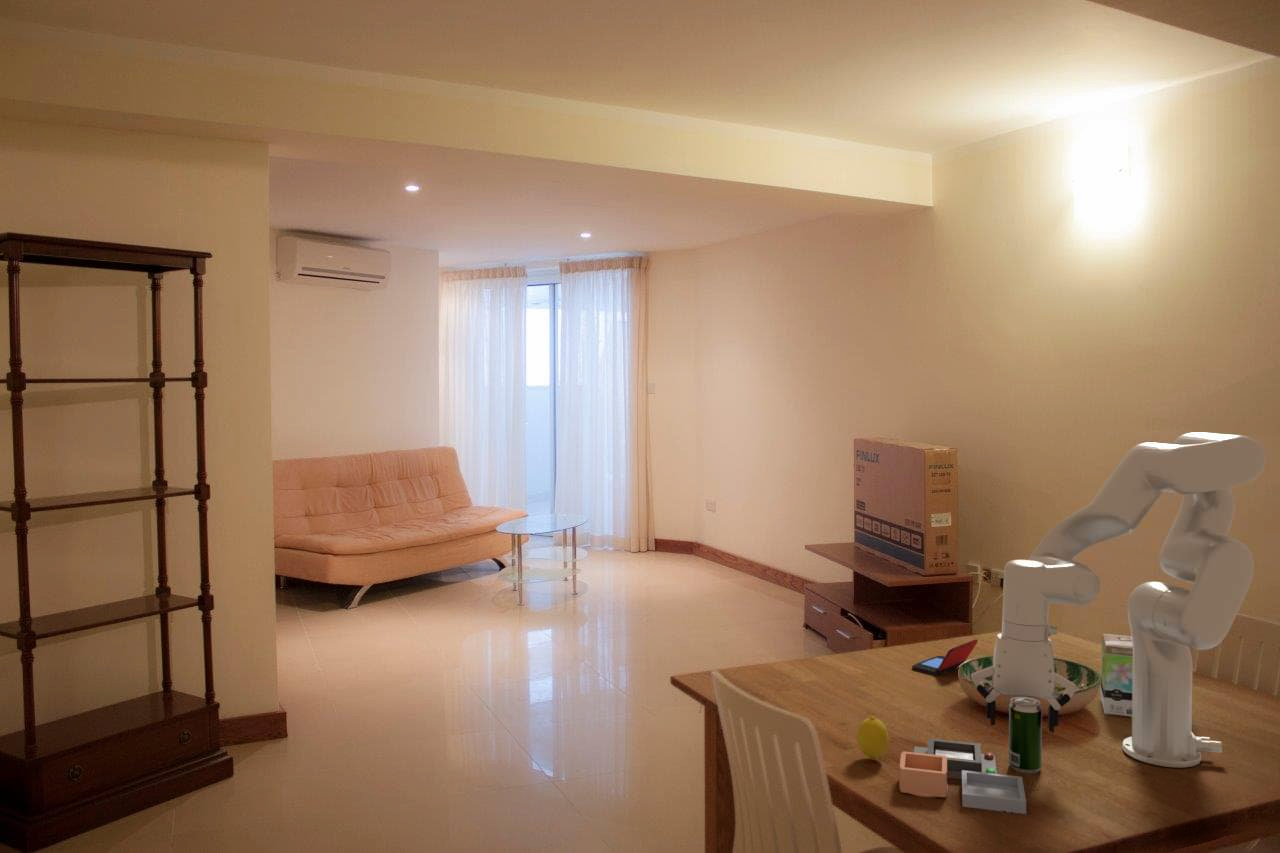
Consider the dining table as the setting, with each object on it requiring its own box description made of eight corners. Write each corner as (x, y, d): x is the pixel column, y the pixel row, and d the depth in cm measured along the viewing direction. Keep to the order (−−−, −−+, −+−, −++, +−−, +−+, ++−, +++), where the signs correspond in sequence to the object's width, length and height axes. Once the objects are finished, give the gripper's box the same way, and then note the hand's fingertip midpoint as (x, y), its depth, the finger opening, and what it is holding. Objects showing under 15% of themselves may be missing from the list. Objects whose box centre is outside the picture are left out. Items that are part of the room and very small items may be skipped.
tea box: (1103, 716, 190) (1104, 644, 190) (1099, 700, 200) (1100, 632, 199) (1188, 725, 185) (1189, 651, 184) (1180, 708, 194) (1181, 638, 193)
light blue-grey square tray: (1021, 788, 158) (1021, 776, 158) (1026, 814, 149) (1026, 801, 148) (961, 782, 161) (961, 770, 161) (962, 806, 152) (962, 793, 152)
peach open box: (948, 780, 162) (948, 755, 161) (948, 800, 154) (948, 774, 154) (900, 774, 164) (900, 750, 164) (898, 794, 157) (897, 768, 156)
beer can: (1029, 777, 162) (1029, 709, 162) (1002, 766, 167) (1002, 700, 166) (1047, 769, 165) (1048, 702, 165) (1020, 759, 170) (1021, 694, 169)
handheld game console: (938, 659, 231) (939, 629, 230) (979, 669, 222) (979, 638, 222) (909, 670, 223) (909, 639, 222) (950, 681, 214) (950, 649, 214)
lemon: (871, 768, 167) (871, 724, 167) (851, 757, 172) (850, 714, 171) (895, 761, 170) (894, 718, 169) (874, 751, 174) (874, 709, 174)
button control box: (994, 760, 170) (994, 744, 169) (997, 783, 160) (997, 766, 160) (914, 751, 174) (914, 735, 174) (912, 773, 164) (912, 756, 164)
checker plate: (972, 756, 169) (972, 751, 169) (973, 770, 163) (973, 765, 163) (935, 752, 171) (935, 747, 171) (935, 766, 165) (935, 761, 165)
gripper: (1075, 630, 166) (1072, 725, 166) (972, 621, 171) (969, 713, 172) (1081, 641, 158) (1077, 740, 159) (973, 631, 164) (970, 727, 165)
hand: (1021, 726), depth 166 cm, fingers open, 9 cm apart
